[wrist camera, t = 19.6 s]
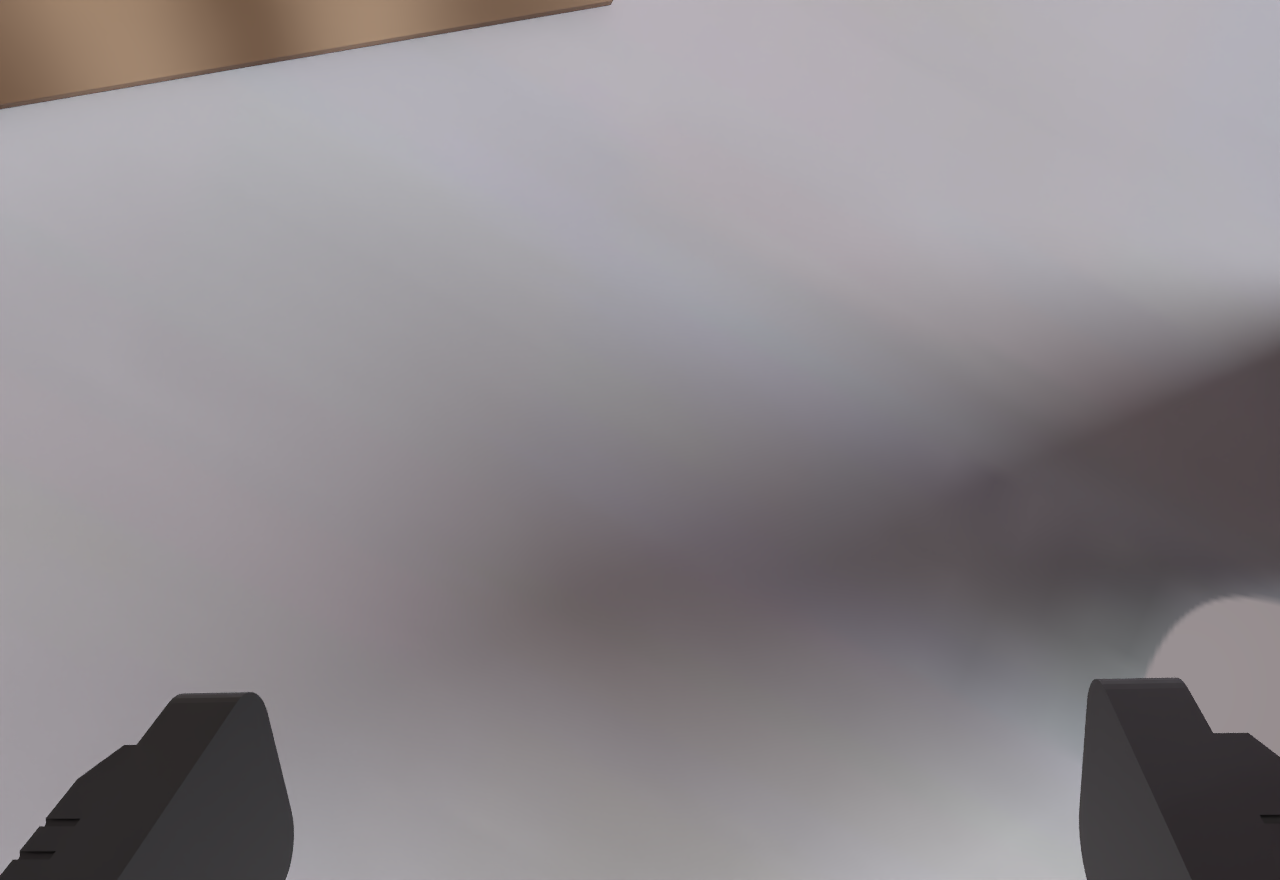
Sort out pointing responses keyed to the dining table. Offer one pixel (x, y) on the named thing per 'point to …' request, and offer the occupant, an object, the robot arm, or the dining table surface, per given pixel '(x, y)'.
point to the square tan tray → (212, 36)
